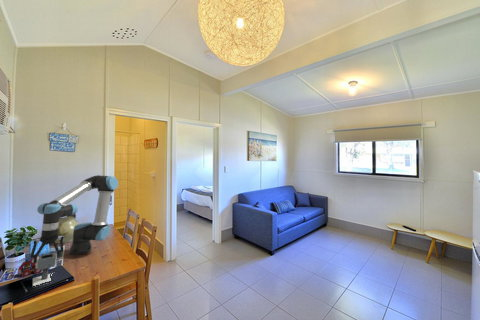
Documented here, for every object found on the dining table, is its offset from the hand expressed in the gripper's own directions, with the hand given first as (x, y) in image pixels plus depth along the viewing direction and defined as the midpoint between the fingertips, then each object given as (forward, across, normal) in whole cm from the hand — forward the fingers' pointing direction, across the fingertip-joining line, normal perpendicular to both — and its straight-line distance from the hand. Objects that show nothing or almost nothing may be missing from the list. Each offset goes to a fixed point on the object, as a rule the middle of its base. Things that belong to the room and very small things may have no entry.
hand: (46, 265), depth 121 cm
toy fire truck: (+9, -5, +16) cm, 19 cm away
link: (0, 0, 0) cm, 0 cm away
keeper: (+9, 0, 0) cm, 9 cm away
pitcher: (+9, +16, +71) cm, 73 cm away
